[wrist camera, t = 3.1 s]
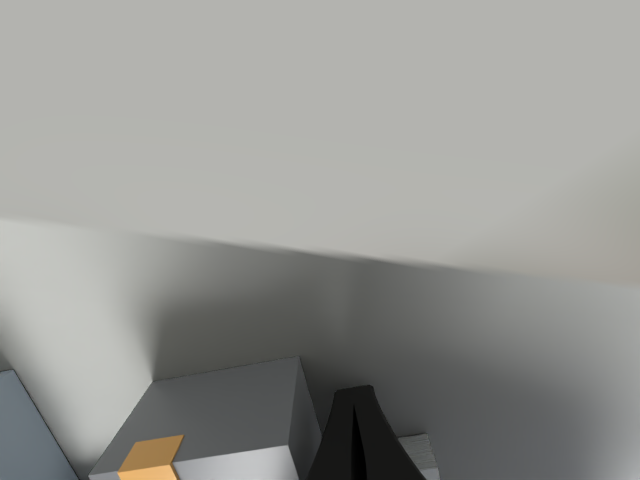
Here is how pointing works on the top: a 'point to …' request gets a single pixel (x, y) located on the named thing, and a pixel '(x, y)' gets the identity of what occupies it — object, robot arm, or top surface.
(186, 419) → the module
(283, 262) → the top surface
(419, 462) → the rail
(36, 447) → the end clamp
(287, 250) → the top surface
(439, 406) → the top surface
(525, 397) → the top surface
